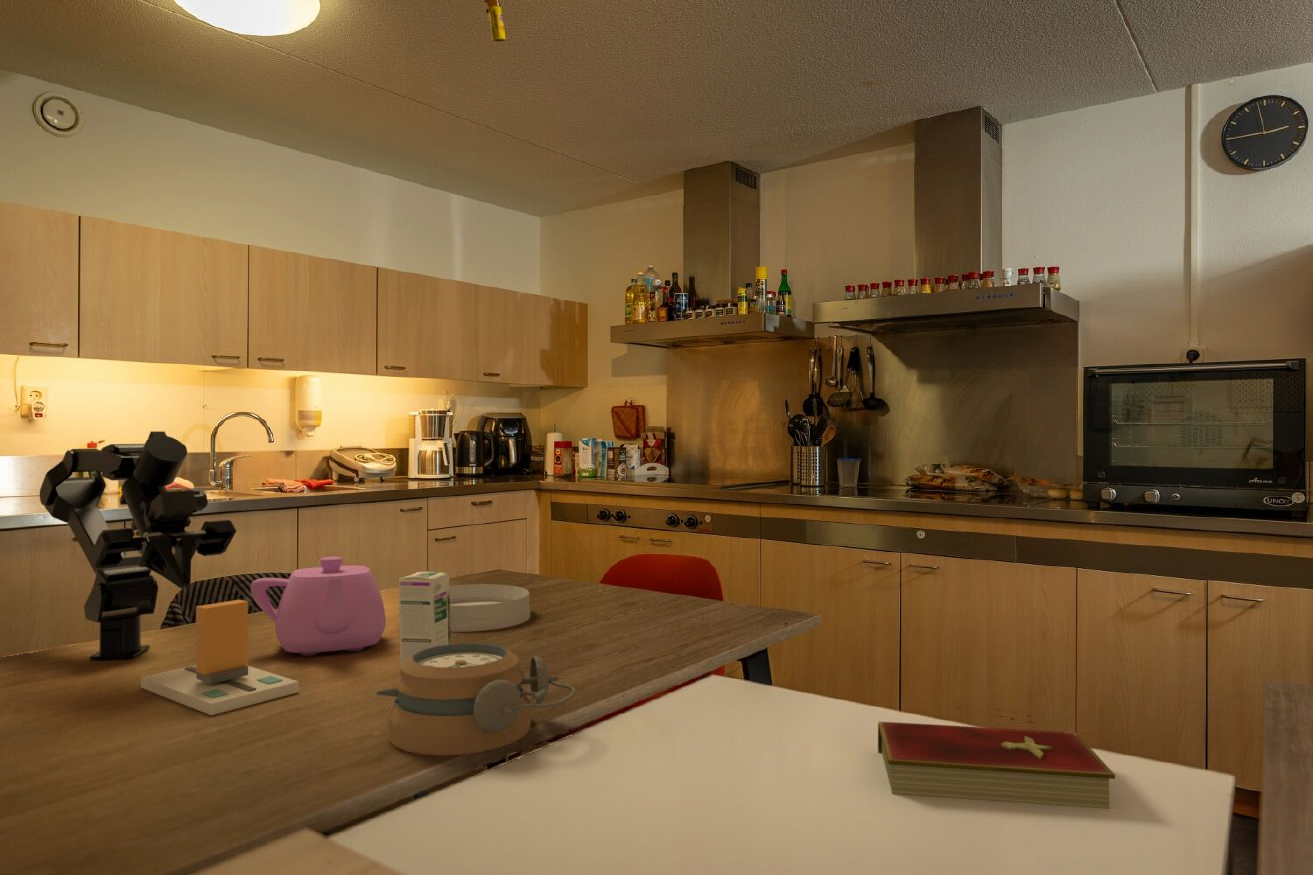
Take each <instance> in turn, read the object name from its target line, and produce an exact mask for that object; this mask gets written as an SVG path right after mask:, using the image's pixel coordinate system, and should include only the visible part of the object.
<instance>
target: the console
mask: <svg viewBox="0 0 1313 875" xmlns="http://www.w3.org/2000/svg"><path fill="white" fill-rule="evenodd" d="M246 666H248V675H246V676H242V677H238V678H234V679H229V680H225V681H221V682H217V683H212V684H210V683H207V682H204V681H201V680H198V679H197V672H196V664H195V665H191V666H186V667H181V668H177V669H173V670H167V671H163V672H159V673H153V674H149V675H145V676H140V688H141V689H144V690H146V691H149V692H151V693H154V694H156V695H159V696H161V697H164V698H167V699H169V700H171V701H174V702H176V703H179V704H182V705H184V706H186V707H188V708H191V709H194V710H197V711H199V712H202V713H204V714H206V715H208V716H209V715H210V716H214V715H217V714H218V715H219V714H222V713H226V712H230V711H232V710H236V709H241V708H245V707H248V706H251V705H255V704H259V703H263V702H267V701H270V700H274V699H278V698H282V697H285V696H290V695H293V694H297V693H299V680H294V679H291V678H288V677H284V676H282V675H279V674H275V673H273V672H270V671H265V670H262V669H261V668H260V669H259V668H257V667H253V666H250V665H246Z"/></svg>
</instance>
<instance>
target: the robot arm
mask: <svg viewBox="0 0 1313 875" xmlns="http://www.w3.org/2000/svg"><path fill="white" fill-rule="evenodd" d="M187 454H188V449H187V446H186V444H184V443H183V442H181V441H180V440H178V439H177V438H174V437H172V436H170V435H169V436H168V435H167V434H166V432H165V430H163V431H159V430H156V431H154V430H153V431H150V432H149V435H148V437H147V439H146V441H145V443H111V444H108V445H106V446H102V447H101V449H98V448H71V449H70V450H66V451H65V453H64V456H63V458H62V460H61V461H59V463H57V464H56V465H54V466H53V467H52V468H50V469H49V470H48V471H47V472H46V473H45V476H44V478H43V481H42V483H41V486H40V490H39V500H40V503H41V505H42V506H44V508H45V510H46V511H47V512H48V513H49V515H50V516H51V517H52V518H54V519H56V520H59V521H61V522H63V523H67V524H68V526H69V528H70V530H71V532H72V533H73V536H74V537H75V539H76V541H77V543H78V544H79V546H80V547H81V550H82V552H83V554H84V555H85V557H86V559H87V561H88V562H89V564H90V566H91V568H92V570H93V572H94V573H95V578H94V581H93V585H92V588H91V591H90V592H89V595H88V597H87V599H86V602H85V603H84V606H83V609H84V616H85V619H86V620H88V621H90V622H94V623H99V625H98V626H99V627H98V628H99V631H98V632H99V634H98V635H99V636H98V637H99V638H98V639H99V648H98V649H99V651H97V652H95V653H94V654H91V655H90V656H89V660H105V659H106V660H107V659H108V660H109V659H111V660H115V659H131V658H135V657H136V656H138V655H141V654H143V653H144V652H146V651H147V650H149V649H150V647H151V646H150V645H149V644H148V645H145V644H144V645H142V634H141V633H142V624H141V622H142V620H141V616H142V615H154V614H155V609H156V605H157V598H158V592H159V585H158V582H157V579H156V578H155V577H154V576H153V575H152V573H151V572H155V573H156V574H158V575H160V576H162V577H163V578H164V579H166V580H168V581H169V582H171V583H172V584H173V585H175V586H177V587H178V588H180V589H184V588H185V589H186V588H187V589H188V588H189V587H190V584H191V577H192V574H191V572H192V559H193V557H194V556H195V554H196V552H197V553H198V554H199V555H200V556H203V557H208V556H216V555H217V556H219V555H222V554H224V553H226V552H227V549H228V548H229V545H230V544H231V542H232V541H233V539H234V536H235V535H236V534H237V528H236V527H235V525H234V523H233V522H232V521H231V520H230V519H220V520H219V519H218V520H207V521H204V522H203V524H202V526H201V528H200V529H199V530H198V529H197V530H196V529H195V530H188V531H186V529H185V528H188V527H189V526H190V525H191V523H192V521H191V518H190V517H191V515H193V514H194V513H197V512H201V511H203V510H204V509H205V508H207V507H208V503H209V501H208V497H207V494H206V492H205V490H204V489H203V487H192V488H190V489H189V490H188V489H187V490H169V491H168V490H167V487H166V486H168V485H170V484H173V483H174V482H175V479H176V477H177V476H178V474H179V471H180V469H181V467H182V466H183V463H184V461H185V459H186V457H187ZM91 472H92V473H95V475H94V477H93V476H82V477H81V476H80V477H72V475H73V473H91ZM104 478H105V479H108V480H109V481H124V482H123V484H122V486H121V488H120V491H121V495H120V498H119V504H120V505H121V506H122V505H126V506H127V508H128V510H129V513H130V515H131V517H132V521H131V522H132V523H131V525H130V527H124V528H112V529H111V528H110V526H109V525H108V523H107V521H106V519H105V518H104V516H103V514H102V513H101V510H100V509H99V507H100V502H101V499H102V496H103V494H104V491H105V489H106V487H107V483H106V482H105V479H104ZM135 531H137V532H138V534H139V537H138V536H137V537H135ZM135 553H138V554H139V555H134V556H126V554H135Z"/></svg>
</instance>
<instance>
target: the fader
mask: <svg viewBox="0 0 1313 875" xmlns="http://www.w3.org/2000/svg"><path fill="white" fill-rule="evenodd" d="M195 635H196V636H195V638H196V639H195V644H196V645H195V648H196V649H195V650H196V652H195V653H196V654H195V665H196V672H197V679H198V680H201V681H204V682H207V683H210V684H212V683H217V682H221V681H225V680H229V679H234V678H238V677H242V676H246V675H248V666H249V601H247V600H243V599H235V600H229V601H223V602H216V603H211V604H203V605H197V606H195ZM246 665H247V666H246Z"/></svg>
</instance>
